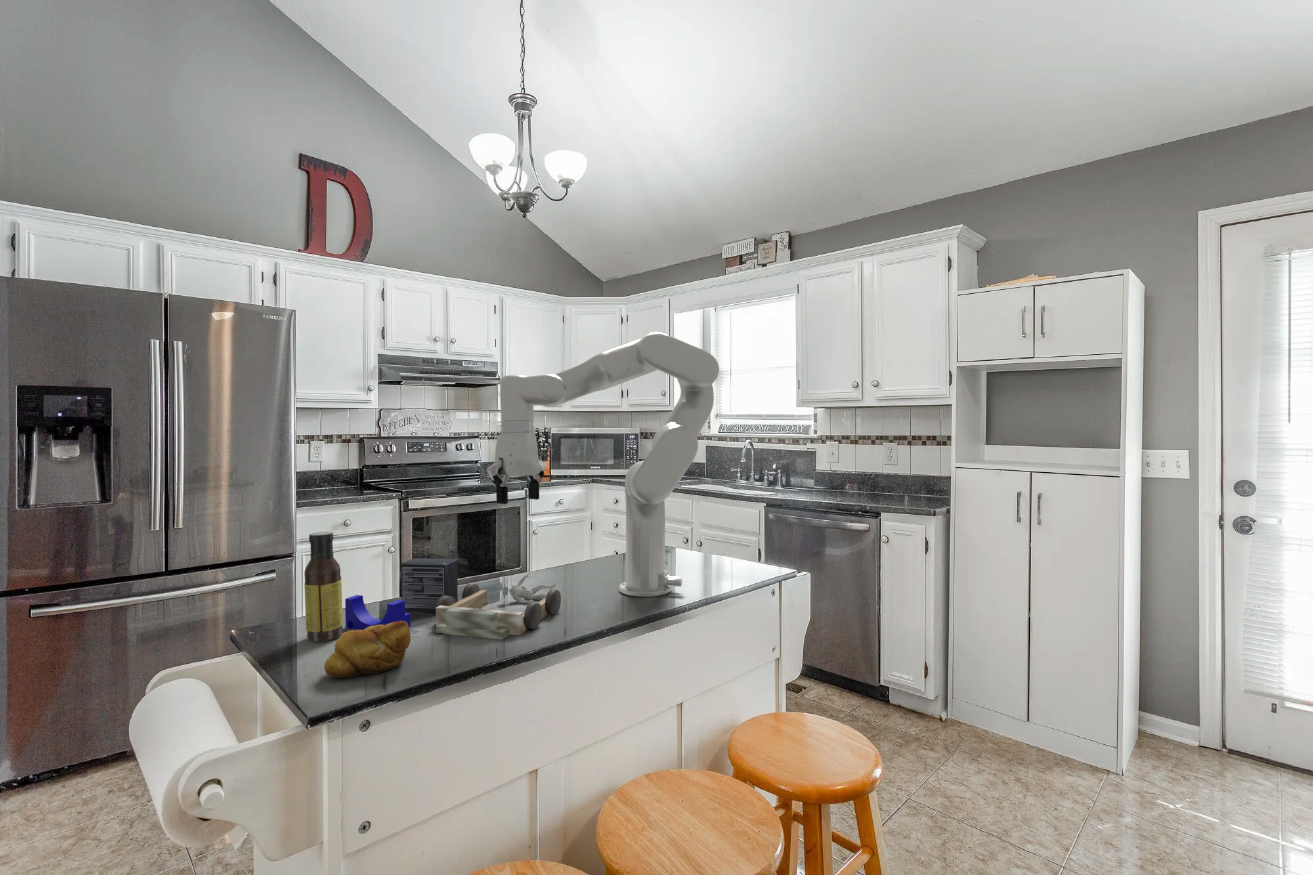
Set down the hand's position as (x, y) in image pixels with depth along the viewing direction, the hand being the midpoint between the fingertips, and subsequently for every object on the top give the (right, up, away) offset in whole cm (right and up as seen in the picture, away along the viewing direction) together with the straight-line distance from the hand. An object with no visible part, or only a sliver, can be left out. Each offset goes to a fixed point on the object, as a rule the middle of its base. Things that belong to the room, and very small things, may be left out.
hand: (518, 501), depth 148 cm
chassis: (-1, -23, -18) cm, 29 cm away
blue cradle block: (-23, -23, -23) cm, 40 cm away
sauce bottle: (-30, -23, -29) cm, 48 cm away
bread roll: (-16, -24, -44) cm, 52 cm away
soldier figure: (+3, -23, -3) cm, 23 cm away
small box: (-17, -23, -9) cm, 30 cm away
